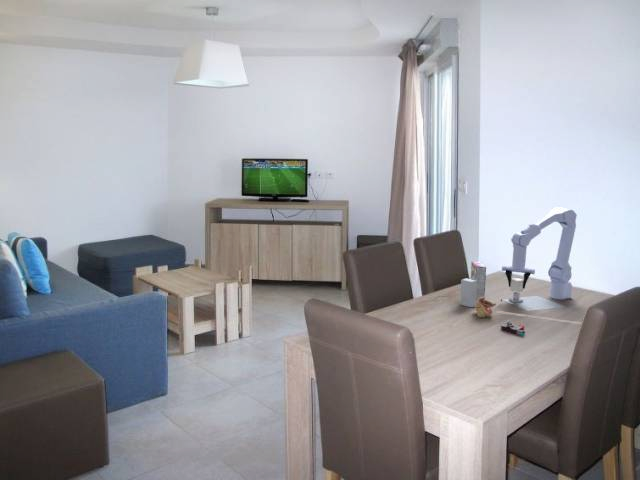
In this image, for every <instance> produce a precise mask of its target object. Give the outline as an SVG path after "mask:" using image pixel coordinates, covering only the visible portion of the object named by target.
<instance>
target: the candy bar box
mask: <svg viewBox="0 0 640 480" xmlns="http://www.w3.org/2000/svg"><path fill="white" fill-rule="evenodd" d="M470 263H471V264H470V279H471V280H475V281H477V293H476V300H477V299H478V298H480V297H485V294H486V281H487V280H486V279H487V278H486V277H487V266H485V265H484V264H485V263H483V262H481V261H473V260H472V261H471V262H470Z"/></svg>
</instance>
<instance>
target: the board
mask: <svg viewBox="0 0 640 480" xmlns="http://www.w3.org/2000/svg"><path fill="white" fill-rule="evenodd" d="M510 298H511V297H510ZM510 298H509V297H508V298H501V299H500V302H502V301H504V302H507V303H509V304H510V305H513V306H515V307H516V308H520V309H522V310H524V311H526V312H529V311H530V312H531V311H539V310H549V309H558V308H565V306H564V305H561V304H559V303H558V302H553V300H552V301H551V300H550V299H547V298H544V297H541V296H539V295H531V296H523V297H520V296H519V299H522V300H523V302H522V303H513V302H510V301H509V299H510Z"/></svg>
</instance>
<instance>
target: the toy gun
mask: <svg viewBox="0 0 640 480" xmlns="http://www.w3.org/2000/svg"><path fill="white" fill-rule="evenodd" d="M524 329H525V325H524V324H519V325H518V326H514V325H513V324H512V322H510V319H508V320H507V322H506V323H504V324H501V326H500V330H501V331H503V332H506V333H509V334H511V335H514V334H515V335H516V336H519V337H521V336H522V335H523V336H522V337H524V336H526V332H525V331H524Z"/></svg>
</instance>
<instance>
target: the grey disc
mask: <svg viewBox="0 0 640 480" xmlns="http://www.w3.org/2000/svg"><path fill="white" fill-rule="evenodd" d="M520 293H521V292H514V291H513V296H512V297H510V299H509V298H508V299H509V301H510V302H513V303H522V302H523V300H522V299H519V298H520V296H521V294H520Z"/></svg>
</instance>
